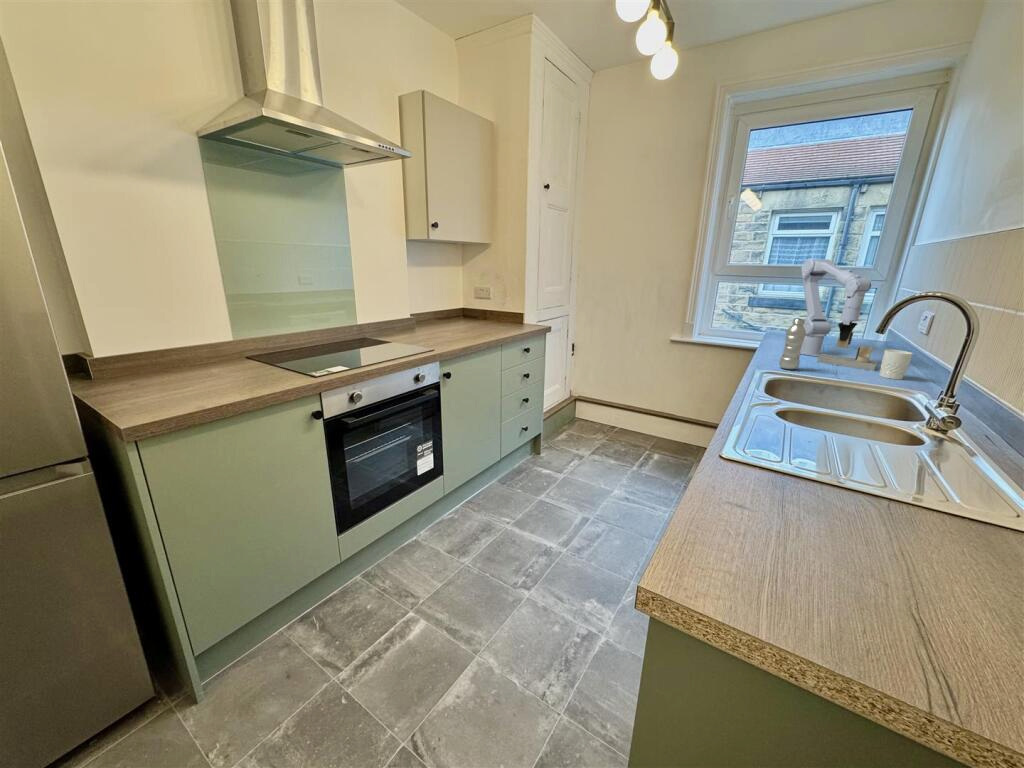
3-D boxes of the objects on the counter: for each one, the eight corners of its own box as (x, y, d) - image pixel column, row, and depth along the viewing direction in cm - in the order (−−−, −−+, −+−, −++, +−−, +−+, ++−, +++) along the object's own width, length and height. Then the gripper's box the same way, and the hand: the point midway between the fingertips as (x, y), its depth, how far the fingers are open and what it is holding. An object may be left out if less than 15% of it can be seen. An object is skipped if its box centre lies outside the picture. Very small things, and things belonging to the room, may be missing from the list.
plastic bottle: (801, 371, 160) (814, 320, 154) (784, 370, 160) (796, 319, 154) (791, 367, 166) (802, 318, 160) (774, 366, 166) (785, 317, 161)
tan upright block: (867, 363, 169) (872, 347, 167) (866, 365, 167) (871, 348, 165) (855, 362, 172) (859, 345, 170) (854, 363, 169) (858, 346, 167)
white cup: (872, 375, 157) (880, 350, 154) (883, 373, 160) (891, 348, 157) (898, 381, 150) (906, 354, 147) (909, 379, 154) (917, 353, 151)
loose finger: (836, 346, 175) (840, 330, 173) (837, 345, 177) (841, 329, 175) (848, 348, 172) (852, 331, 170) (849, 347, 175) (853, 330, 173)
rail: (816, 362, 177) (818, 356, 176) (820, 359, 182) (821, 353, 181) (873, 371, 164) (875, 364, 163) (875, 367, 169) (877, 361, 168)
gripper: (862, 310, 162) (853, 343, 166) (866, 307, 172) (857, 339, 176) (840, 308, 167) (832, 340, 171) (845, 306, 177) (837, 337, 181)
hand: (843, 340), depth 174 cm, fingers closed on loose finger, 4 cm apart
